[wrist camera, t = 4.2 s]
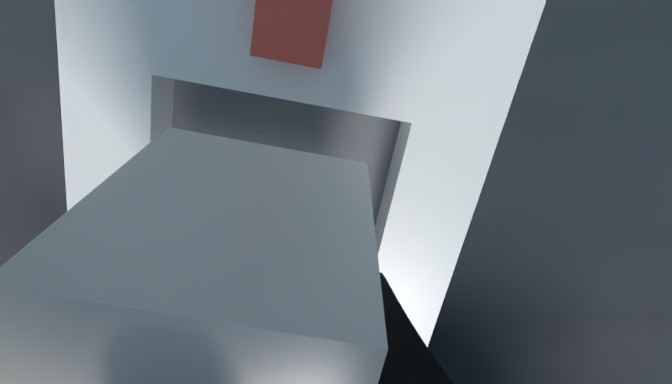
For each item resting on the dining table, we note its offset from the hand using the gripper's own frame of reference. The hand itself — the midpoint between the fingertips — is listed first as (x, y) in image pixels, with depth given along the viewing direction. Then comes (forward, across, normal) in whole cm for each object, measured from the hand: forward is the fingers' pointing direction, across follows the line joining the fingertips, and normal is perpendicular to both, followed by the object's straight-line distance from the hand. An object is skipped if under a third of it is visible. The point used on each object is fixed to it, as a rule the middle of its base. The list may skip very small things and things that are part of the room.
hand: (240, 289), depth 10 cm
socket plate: (+5, 0, 0) cm, 5 cm away
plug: (+2, 0, 0) cm, 2 cm away
